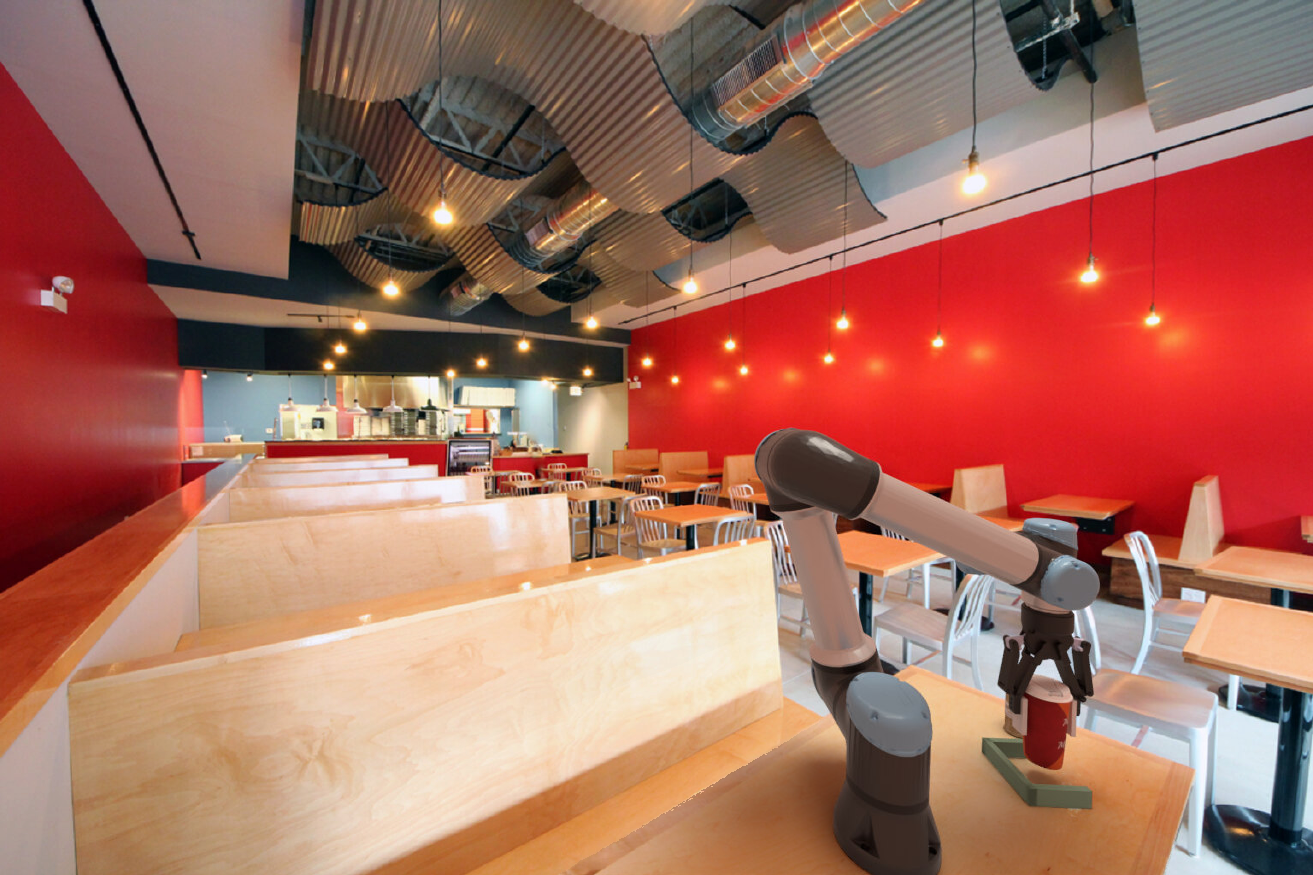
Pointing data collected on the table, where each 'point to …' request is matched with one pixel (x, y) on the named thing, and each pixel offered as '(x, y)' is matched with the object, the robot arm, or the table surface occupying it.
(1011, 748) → the green pocket
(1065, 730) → the paper cup
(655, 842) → the table surface
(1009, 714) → the sprinkles bottle
